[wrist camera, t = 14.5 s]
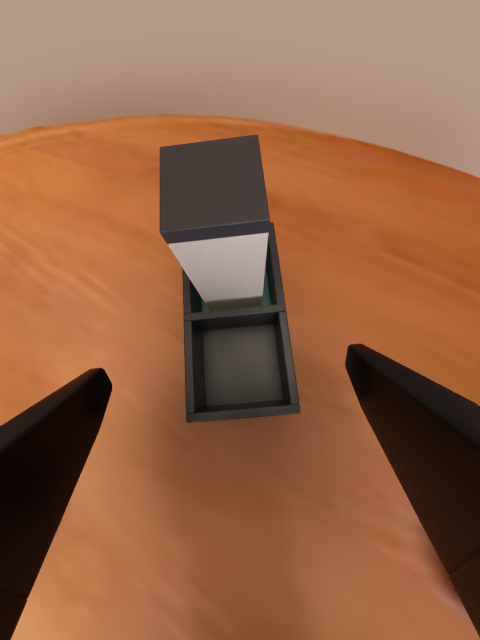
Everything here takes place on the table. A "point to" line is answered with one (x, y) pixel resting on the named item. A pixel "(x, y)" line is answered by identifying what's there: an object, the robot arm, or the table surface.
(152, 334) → the table surface
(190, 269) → the white gray rectangular block
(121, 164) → the table surface
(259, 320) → the organizer
